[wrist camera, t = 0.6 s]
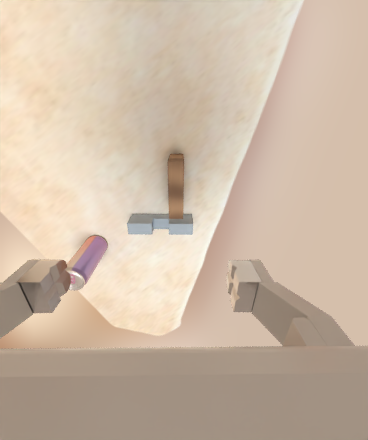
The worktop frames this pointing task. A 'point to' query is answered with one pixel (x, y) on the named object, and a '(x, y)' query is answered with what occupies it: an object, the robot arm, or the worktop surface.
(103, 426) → the robot arm
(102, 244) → the beverage can
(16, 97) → the worktop surface
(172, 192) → the wooden bridge block
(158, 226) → the notched grey block
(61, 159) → the worktop surface
